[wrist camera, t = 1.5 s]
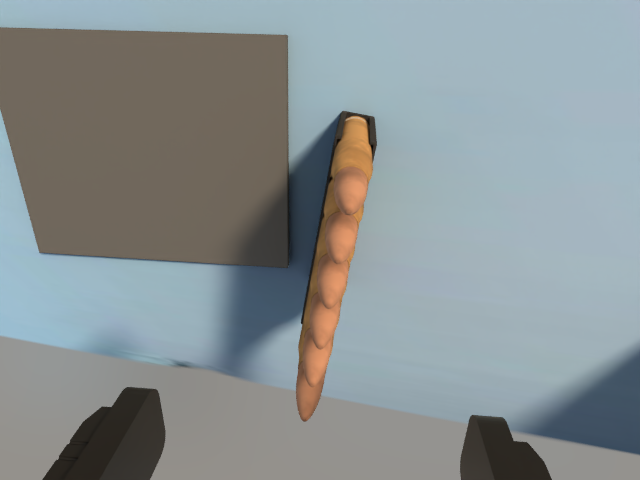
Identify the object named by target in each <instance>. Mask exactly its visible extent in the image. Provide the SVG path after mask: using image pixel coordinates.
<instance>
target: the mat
mask: <svg viewBox="0 0 640 480" xmlns="http://www.w3.org/2000/svg"><path fill="white" fill-rule="evenodd" d="M0 109H1V113H2V117H3V120H4V124H5V128H6V131H7V135H8V139H9V142H10V146H11V150H12V153H13V157H14V161H15V164H16V168H17V172H18V175H19V179H20V183H21V186H22V190H23V194H24V198H25V201H26V205H27V209H28V212H29V216H30V220H31V223H32V227H33V231H34V234H35V238H36V242H37V245H38V249H39V253H56V254H72V255H88V256H104V257H120V258H136V259H152V260H168V261H184V262H200V263H216V264H232V265H248V266H264V267H280V268H288V266H289V161H288V35H264V34H226V33H188V32H150V31H112V30H74V29H36V28H0Z"/></svg>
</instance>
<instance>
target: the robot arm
mask: <svg viewBox="0 0 640 480" xmlns="http://www.w3.org/2000/svg"><path fill="white" fill-rule="evenodd" d="M164 443H165V426H164V421H163V414H162V409H161V403H160V397H159V393H158V391H157V390H156V389H147V388H134V387H127V388H125V389H124V390H123V391H122V393H121V394H120V395H119V397H118V398H117V400H116V402H115V403H114V405H113V406H112V407H101V408H100V409H99V410H97V411H96V412H95V413H94V414H92V415H91V416H90V417H89V418H87V419H86V420H85V421H84V422H83V423H82V424H81V426H80V427H79V429H78V430H77V431H76V433H75V434H74V436H73V437H72V439H71V440H70V443H69V444H68V445H67V446H66V447H65V448H64V450H63V451H62V453H61V454H60V456H59V459H58V460H56V461H55V463H54V464H53V465H52V467H51V468H50V470H49V471H48V472H47V474H46V475H45V477H44V478H43V480H150V478H151V476H152V474H153V472H154V470H155V467H156V465H157V463H158V461H159V459H160V457H161V454H162V451H163V448H164ZM460 463H461V464H460V473H461V480H552V479H551V477H550V474H549V472H548V470H547V467H546V465H545V463H544V461H543V460H542V459H541V458H540V457H539V455H538V454H537V453H536V452H535V451H534V450H533V448H532V447H531V446H530V445H529V444H528V443H527V442H517V441H513V438H512V435H511V433H510V430H509V427H508V425H507V422H506V421H505V419H504V418H503V417H491V416H478V415H472V416H471V417H470V419H469V423H468V428H467V432H466V437H465V442H464V446H463V450H462V454H461V461H460Z"/></svg>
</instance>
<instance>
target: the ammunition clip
mask: <svg viewBox="0 0 640 480" xmlns="http://www.w3.org/2000/svg"><path fill="white" fill-rule="evenodd" d="M376 146H377V141H376V129H375V118H374V117H373V116H367V115H362V114H357V113H351V112H346V111H342V112H341V115H340V118H339V122H338V126H337V130H336V134H335V139H334V145H333V150H332V155H331V161H330V166H329V172H328V177H327V183H326V188H325V194H324V199H323V205H322V210H321V215H320V221H319V226H318V232H317V237H316V243H315V248H314V254H313V259H312V265H311V270H310V275H309V281H308V286H307V292H306V297H305V303H304V308H303V314H302V319H301V324H303V325H302V330H301V335H300V340H299V347H298V348H299V364H298V376H297V383H296V399H297V406H298V411H299V415H300V417H301V419H302V420H303V421H307V420H308V419H309V418H310V417H311V416H312V414H313V413H314V411H315V409H316V407H317V405H318V402H319V399H320V396H321V392H322V388H323V384H324V378H325V373H326V368H327V365H328V361H329V357H330V355H331V352H332V347H333V338H334V332H335V329H336V327H337V324H338V321H339V316H340V307H341V302H342V297H343V295H344V293H345V290H346V286H347V278H348V271H349V267H350V262H351V260H352V258H353V255H354V251H355V243H356V239H357V232H358V227H359V223H360V221H361V219H362V215H363V210H364V201H365V198H366V195H367V190H368V183H369V180H370V179H371V176H372V171H373V165H372V164H373V159H374V155H375V150H376Z"/></svg>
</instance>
